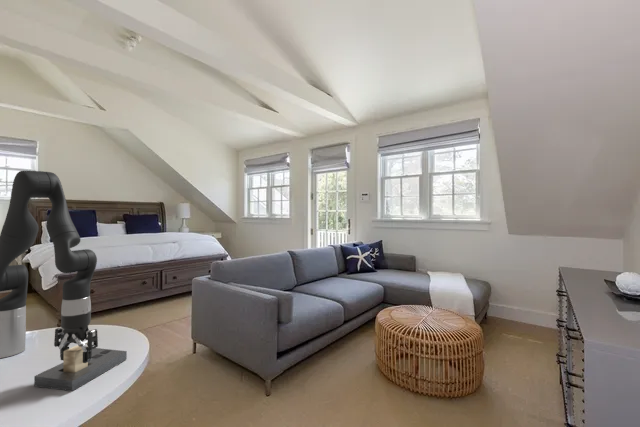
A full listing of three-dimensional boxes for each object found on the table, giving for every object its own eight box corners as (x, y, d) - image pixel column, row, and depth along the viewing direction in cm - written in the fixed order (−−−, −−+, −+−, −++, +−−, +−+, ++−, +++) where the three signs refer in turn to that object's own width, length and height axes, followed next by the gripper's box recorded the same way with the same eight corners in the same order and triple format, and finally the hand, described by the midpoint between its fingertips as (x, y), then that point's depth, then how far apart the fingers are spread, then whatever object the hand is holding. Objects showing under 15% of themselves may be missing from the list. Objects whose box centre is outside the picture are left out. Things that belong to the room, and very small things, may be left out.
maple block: (63, 379, 96) (63, 351, 96) (76, 372, 100) (76, 345, 100) (74, 380, 95) (75, 352, 95) (87, 373, 100) (88, 346, 100)
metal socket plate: (34, 385, 92) (34, 375, 92) (94, 355, 112) (94, 347, 112) (72, 391, 90) (72, 380, 90) (126, 359, 109) (126, 350, 109)
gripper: (46, 313, 95) (45, 364, 95) (83, 316, 93) (83, 368, 93) (69, 306, 103) (69, 353, 103) (105, 309, 100) (104, 357, 100)
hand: (75, 360), depth 98 cm, fingers open, 8 cm apart
